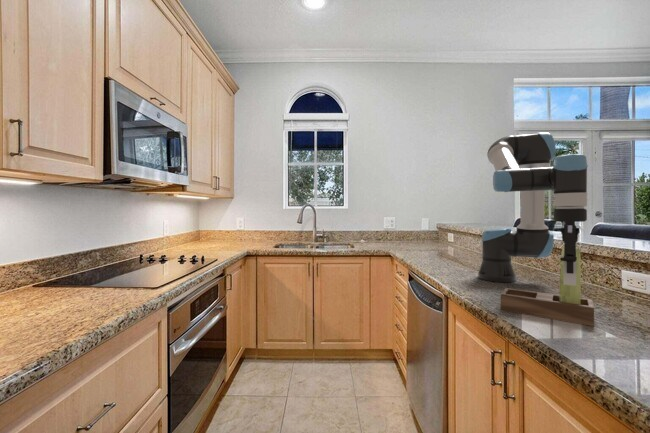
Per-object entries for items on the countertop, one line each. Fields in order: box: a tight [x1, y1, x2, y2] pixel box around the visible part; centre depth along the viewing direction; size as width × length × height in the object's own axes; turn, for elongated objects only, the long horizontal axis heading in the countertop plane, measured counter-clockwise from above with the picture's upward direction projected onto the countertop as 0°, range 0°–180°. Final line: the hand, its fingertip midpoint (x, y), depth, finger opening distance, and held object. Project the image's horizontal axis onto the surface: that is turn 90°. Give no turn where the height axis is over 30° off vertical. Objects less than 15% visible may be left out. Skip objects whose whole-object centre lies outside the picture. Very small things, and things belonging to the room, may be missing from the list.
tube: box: [558, 245, 582, 305], centre depth 87 cm, size 6×5×20 cm
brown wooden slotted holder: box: [500, 287, 595, 327], centre depth 91 cm, size 10×22×5 cm, turn 50°
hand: (569, 280), depth 87 cm, fingers open, 13 cm apart
